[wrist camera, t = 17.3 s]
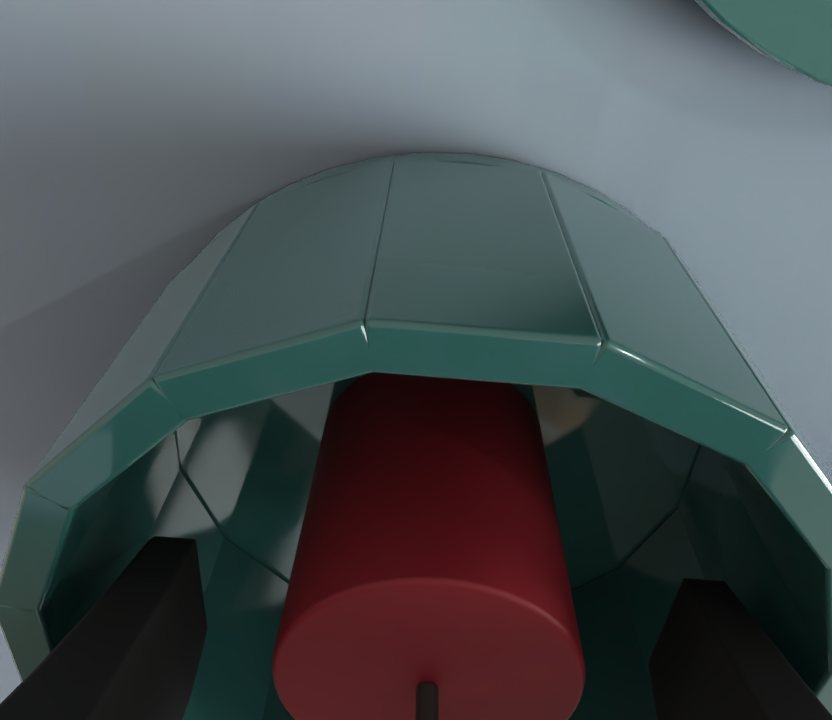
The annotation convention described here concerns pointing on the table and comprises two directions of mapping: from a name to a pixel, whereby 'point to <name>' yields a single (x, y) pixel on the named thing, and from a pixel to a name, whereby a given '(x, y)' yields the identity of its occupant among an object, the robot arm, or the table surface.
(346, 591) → the candle
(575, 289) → the candle pot
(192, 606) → the robot arm
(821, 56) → the pot lid
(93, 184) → the table surface
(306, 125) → the table surface
